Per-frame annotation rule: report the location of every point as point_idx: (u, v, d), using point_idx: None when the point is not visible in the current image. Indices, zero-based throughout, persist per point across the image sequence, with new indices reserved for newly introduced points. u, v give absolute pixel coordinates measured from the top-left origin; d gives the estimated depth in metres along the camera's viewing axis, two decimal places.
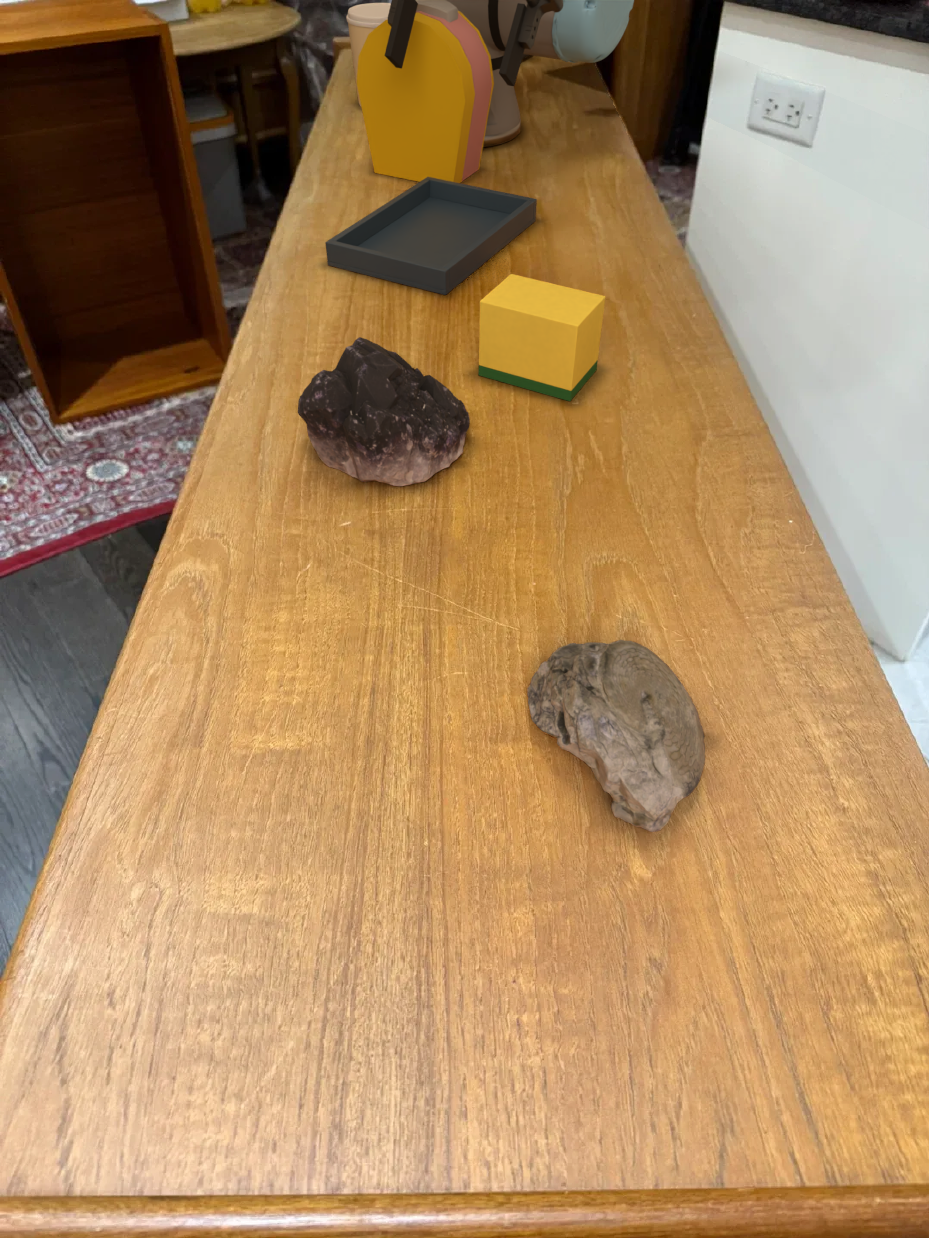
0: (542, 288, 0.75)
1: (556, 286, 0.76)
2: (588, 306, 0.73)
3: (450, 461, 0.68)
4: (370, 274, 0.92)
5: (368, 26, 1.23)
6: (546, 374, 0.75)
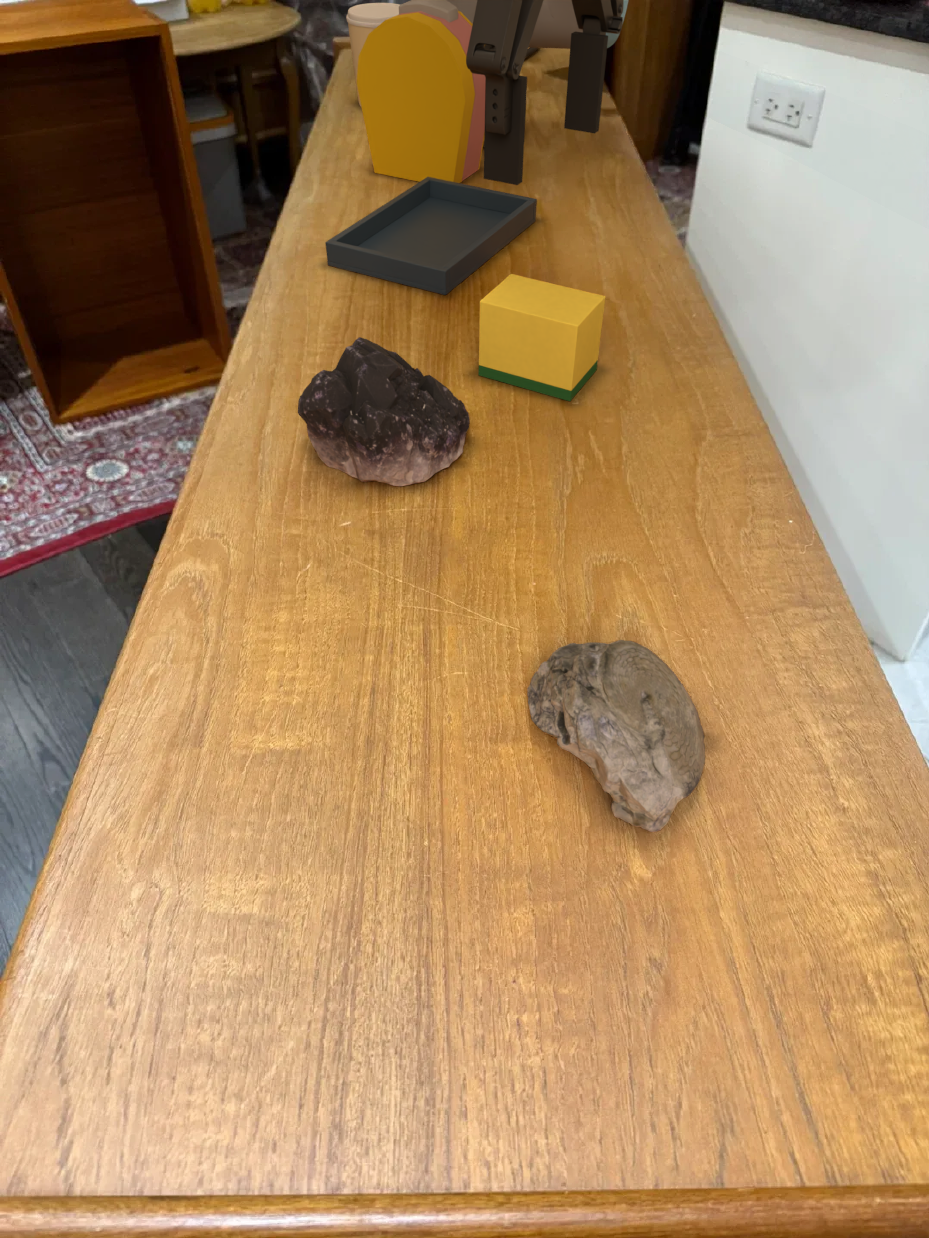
0: (542, 288, 0.75)
1: (556, 286, 0.76)
2: (588, 306, 0.73)
3: (450, 461, 0.68)
4: (370, 274, 0.92)
5: (368, 26, 1.23)
6: (546, 374, 0.75)
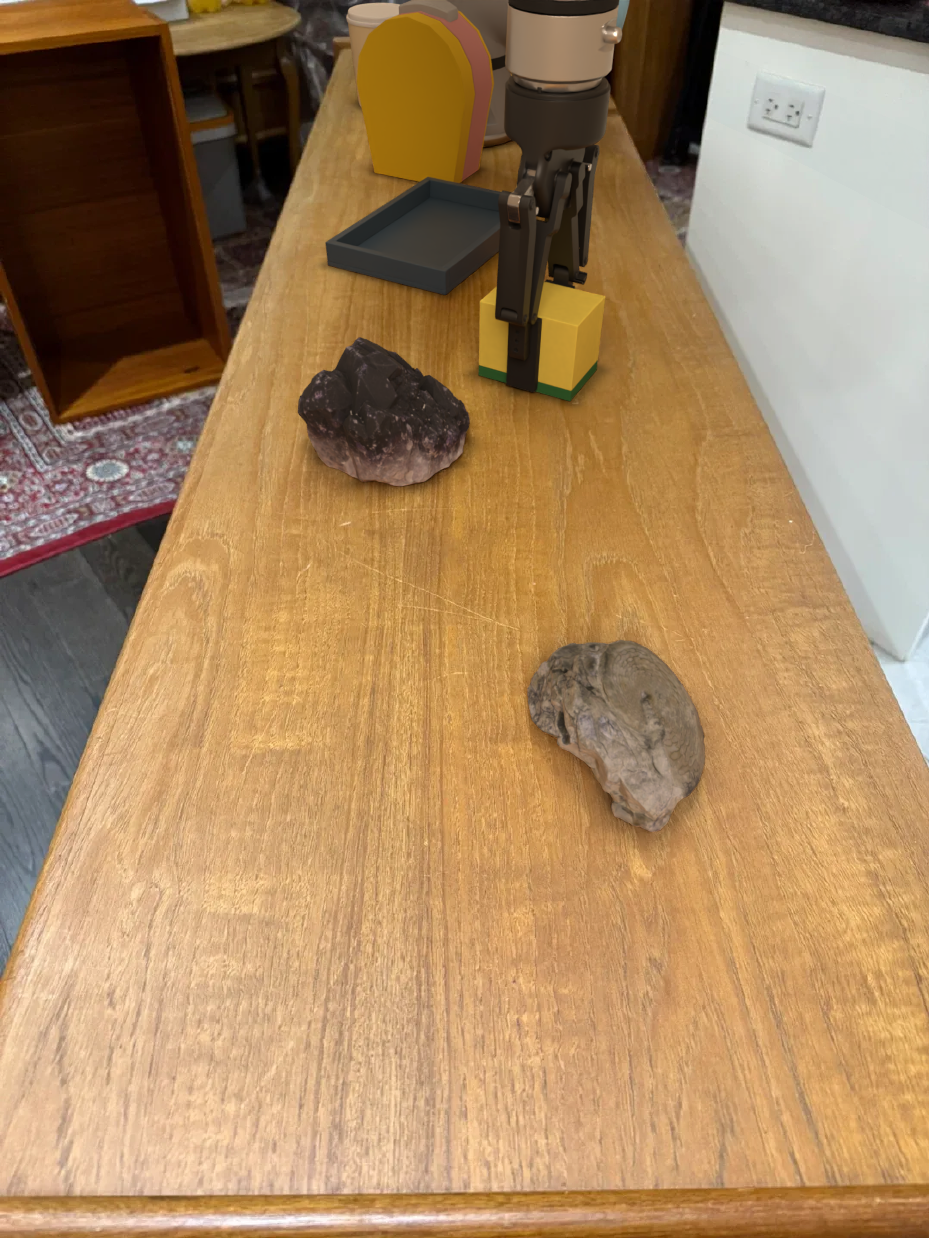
0: None
1: (557, 286, 0.76)
2: (588, 306, 0.73)
3: (450, 461, 0.68)
4: (370, 274, 0.92)
5: (368, 26, 1.23)
6: (546, 374, 0.75)
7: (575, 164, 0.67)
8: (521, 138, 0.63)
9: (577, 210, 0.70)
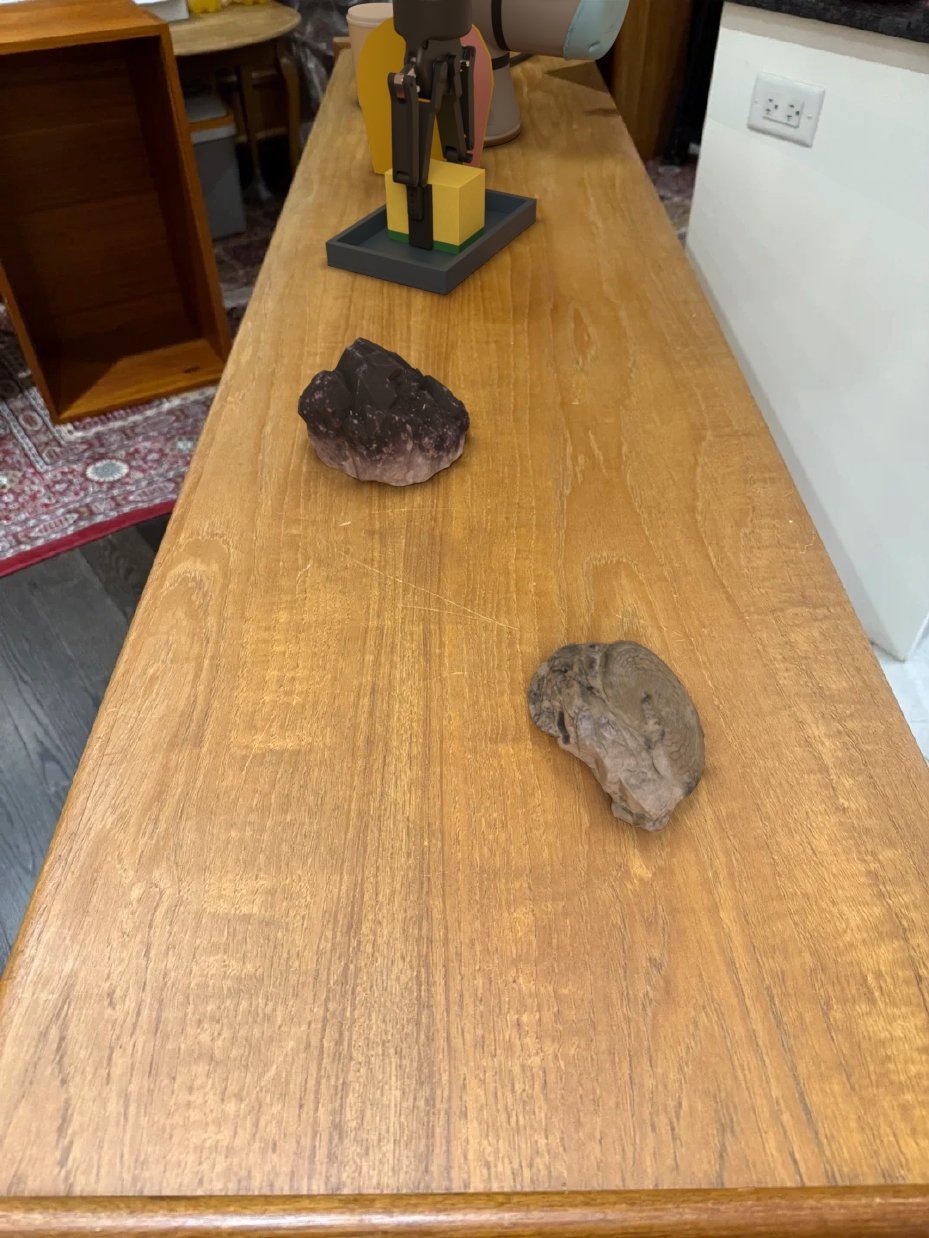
0: (436, 164, 0.95)
1: (448, 163, 0.95)
2: (469, 175, 0.92)
3: (450, 461, 0.68)
4: (370, 274, 0.92)
5: (368, 26, 1.23)
6: (439, 232, 0.94)
7: (451, 57, 0.86)
8: (404, 31, 0.82)
9: (456, 96, 0.89)
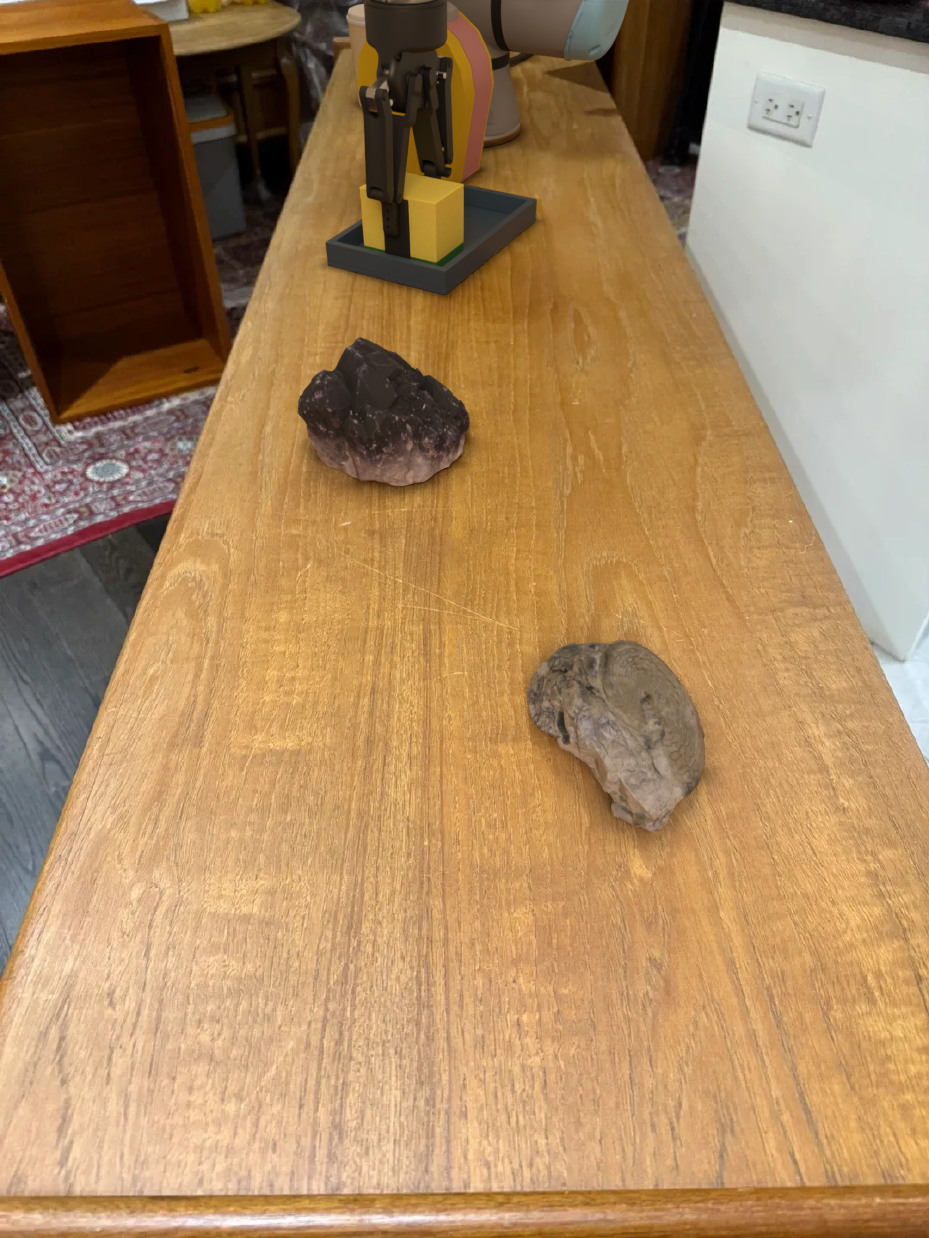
0: (413, 179, 0.92)
1: (425, 177, 0.92)
2: (447, 190, 0.89)
3: (450, 461, 0.68)
4: (370, 274, 0.92)
5: None
6: (416, 249, 0.91)
7: (426, 69, 0.83)
8: (376, 43, 0.79)
9: (432, 109, 0.86)
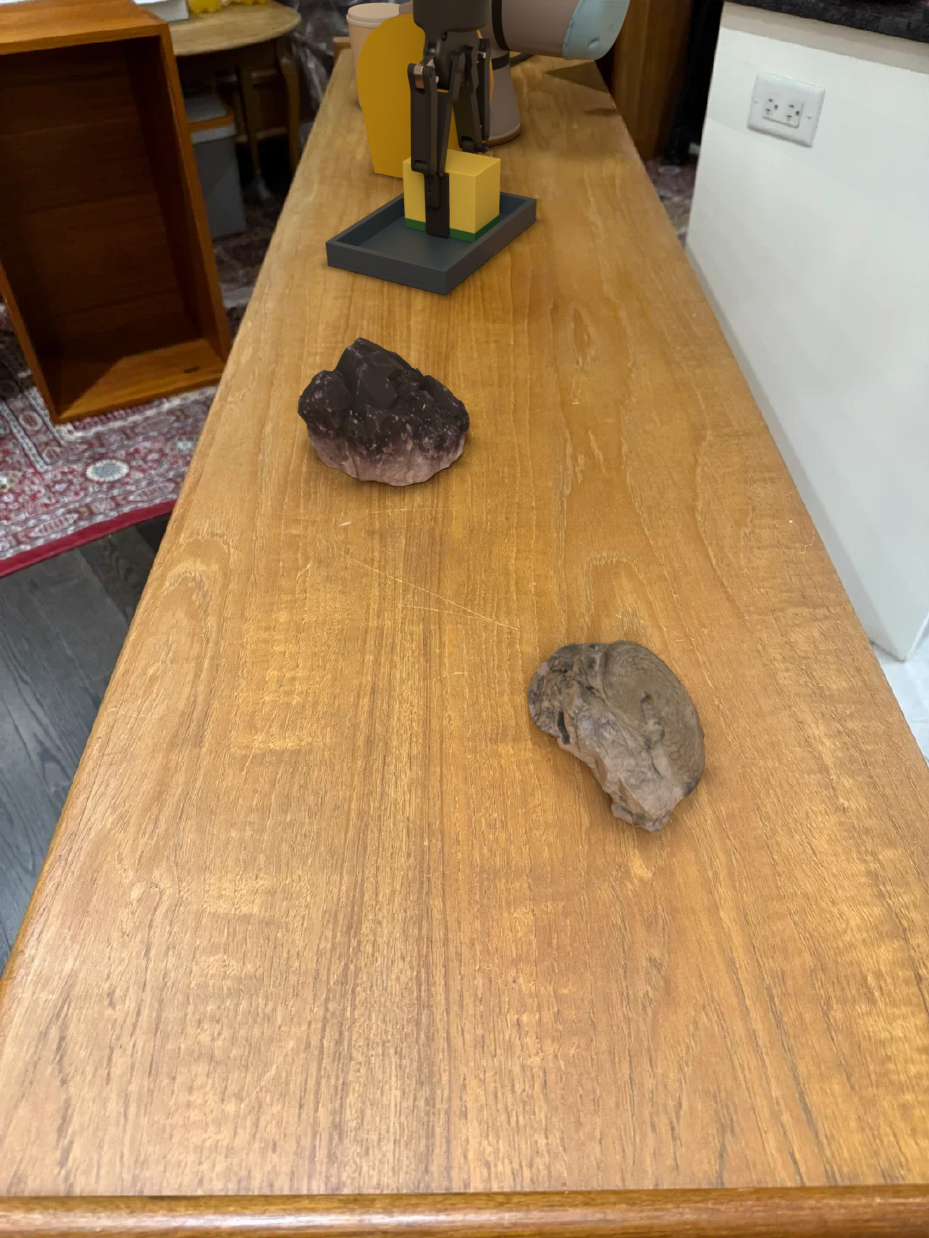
0: (452, 154, 0.97)
1: (464, 153, 0.97)
2: (485, 164, 0.95)
3: (450, 461, 0.68)
4: (370, 274, 0.92)
5: (368, 26, 1.23)
6: (455, 220, 0.97)
7: (469, 48, 0.88)
8: (423, 23, 0.84)
9: (473, 87, 0.91)
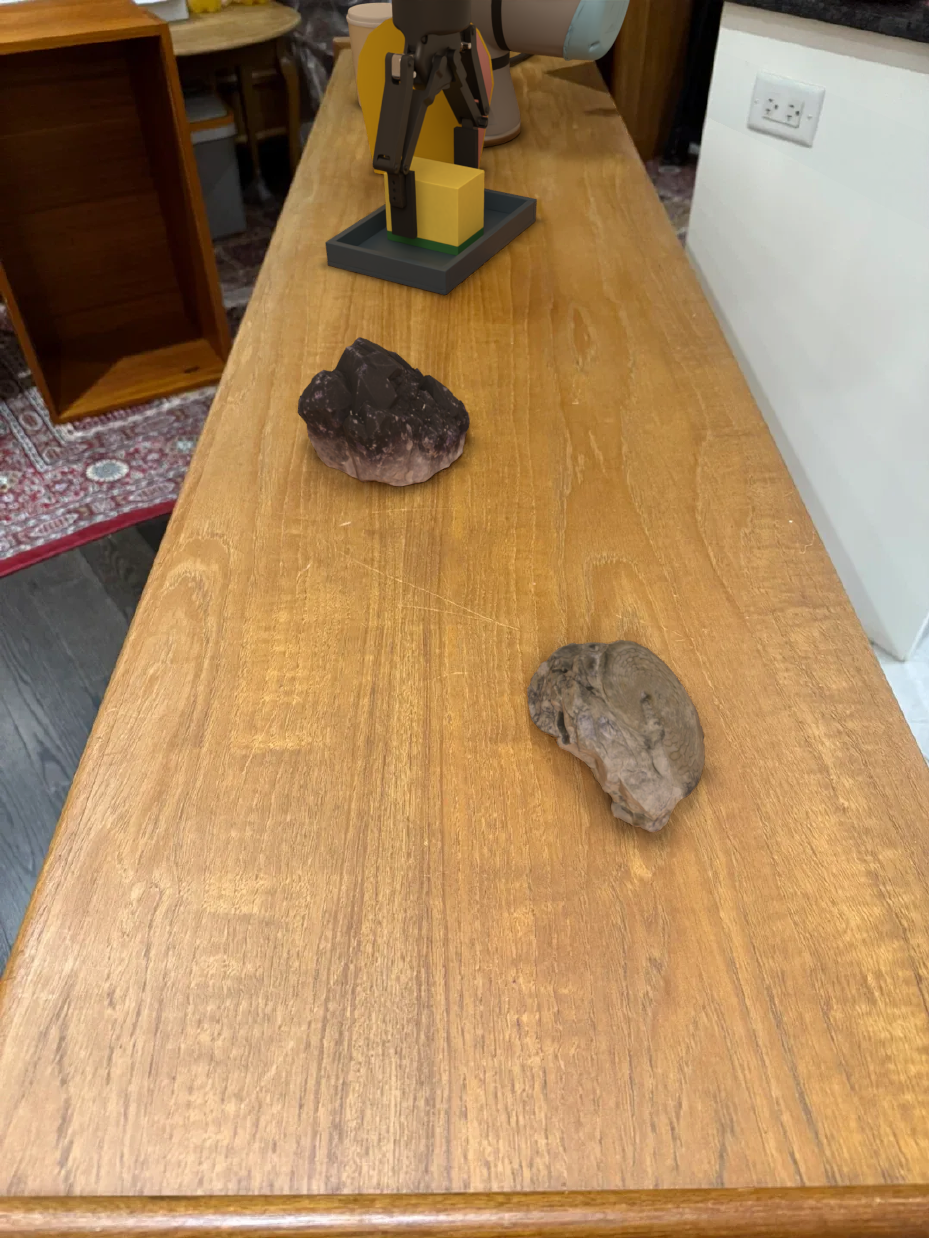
0: (435, 165, 0.95)
1: (447, 164, 0.95)
2: (468, 176, 0.92)
3: (450, 461, 0.68)
4: (370, 274, 0.92)
5: (368, 26, 1.23)
6: (438, 233, 0.94)
7: (450, 53, 0.86)
8: (403, 26, 0.82)
9: (462, 83, 0.89)
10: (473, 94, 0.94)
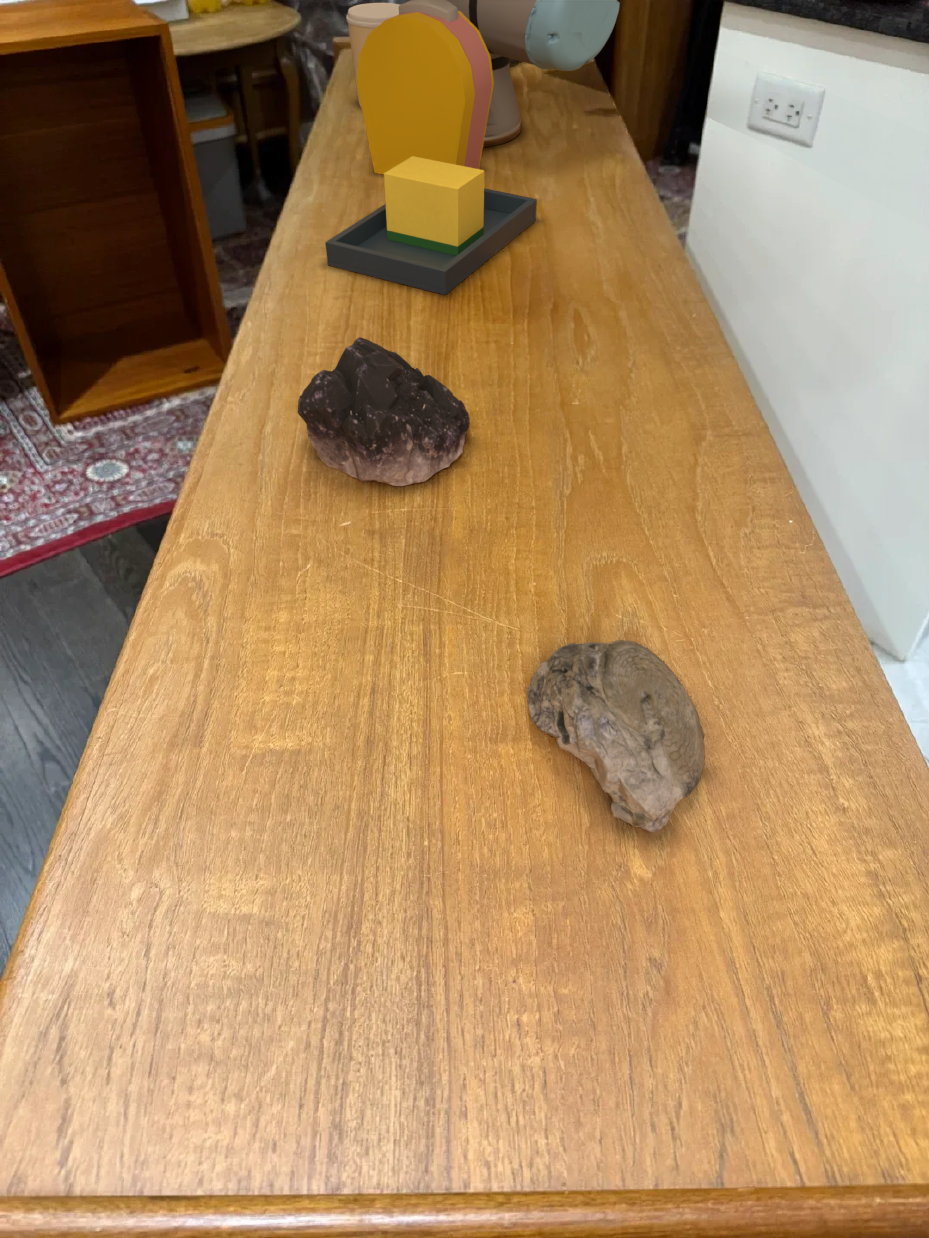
0: (435, 165, 0.95)
1: (447, 164, 0.95)
2: (468, 176, 0.92)
3: (450, 461, 0.68)
4: (370, 274, 0.92)
5: (368, 26, 1.23)
6: (438, 233, 0.94)
7: None
8: None
9: None
10: None
